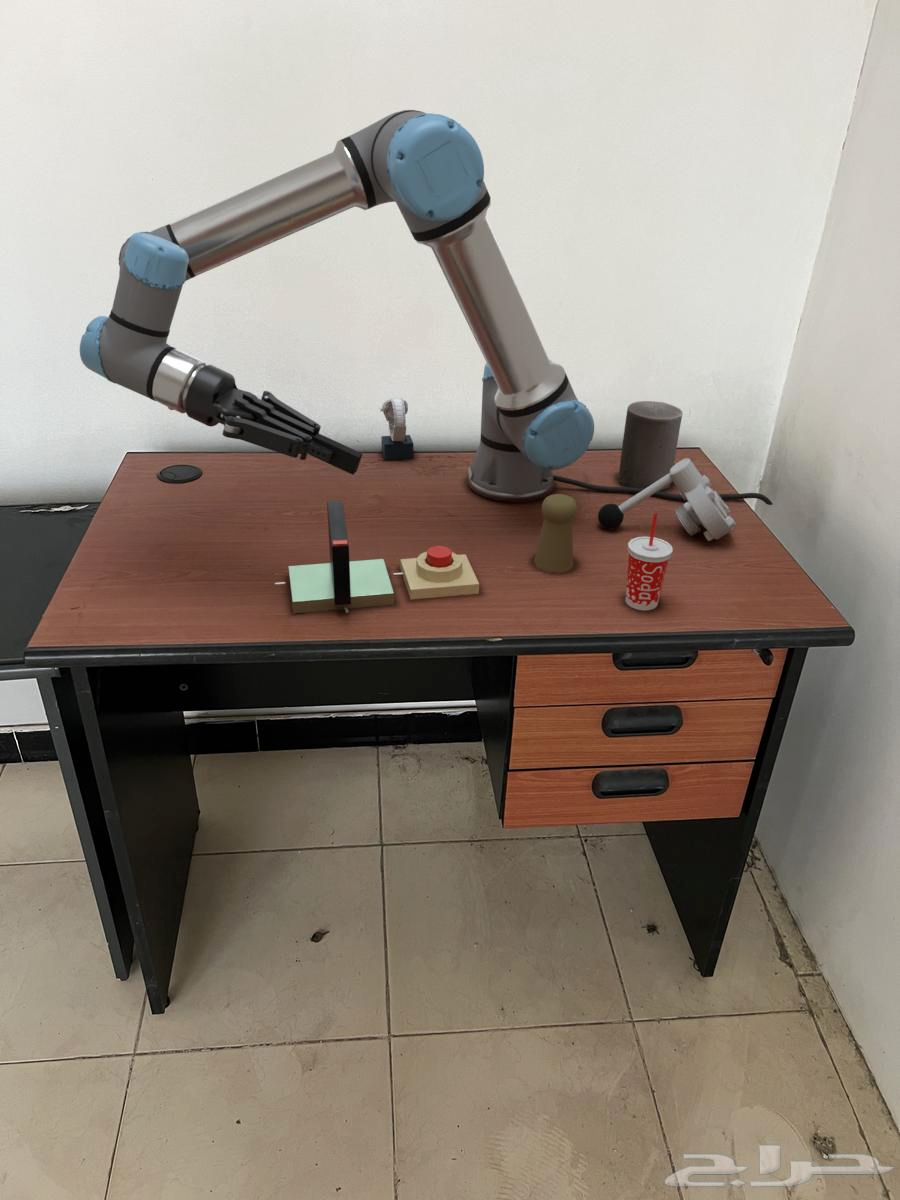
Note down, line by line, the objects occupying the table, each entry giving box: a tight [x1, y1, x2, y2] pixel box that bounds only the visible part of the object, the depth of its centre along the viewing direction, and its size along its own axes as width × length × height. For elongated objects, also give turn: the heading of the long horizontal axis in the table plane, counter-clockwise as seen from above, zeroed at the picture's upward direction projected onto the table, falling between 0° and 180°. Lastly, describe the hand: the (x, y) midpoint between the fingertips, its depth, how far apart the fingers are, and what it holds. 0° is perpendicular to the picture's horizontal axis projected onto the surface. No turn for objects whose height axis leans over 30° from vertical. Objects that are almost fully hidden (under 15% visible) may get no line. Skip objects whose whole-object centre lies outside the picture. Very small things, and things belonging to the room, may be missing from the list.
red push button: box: [426, 545, 453, 568], centre depth 129 cm, size 4×4×2 cm
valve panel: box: [274, 558, 403, 615], centre depth 128 cm, size 18×18×2 cm
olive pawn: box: [533, 493, 578, 574], centre depth 134 cm, size 6×6×11 cm
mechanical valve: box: [597, 457, 736, 542], centre depth 146 cm, size 10×18×15 cm
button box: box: [399, 551, 480, 600], centre depth 131 cm, size 10×9×4 cm
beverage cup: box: [624, 512, 674, 611], centre depth 124 cm, size 6×6×14 cm
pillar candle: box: [617, 400, 684, 492], centre depth 161 cm, size 10×10×15 cm
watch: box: [379, 396, 414, 461], centre depth 169 cm, size 6×8×11 cm
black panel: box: [326, 499, 351, 605], centre depth 125 cm, size 14×2×9 cm, turn 9°
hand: (357, 464), depth 118 cm, fingers closed
